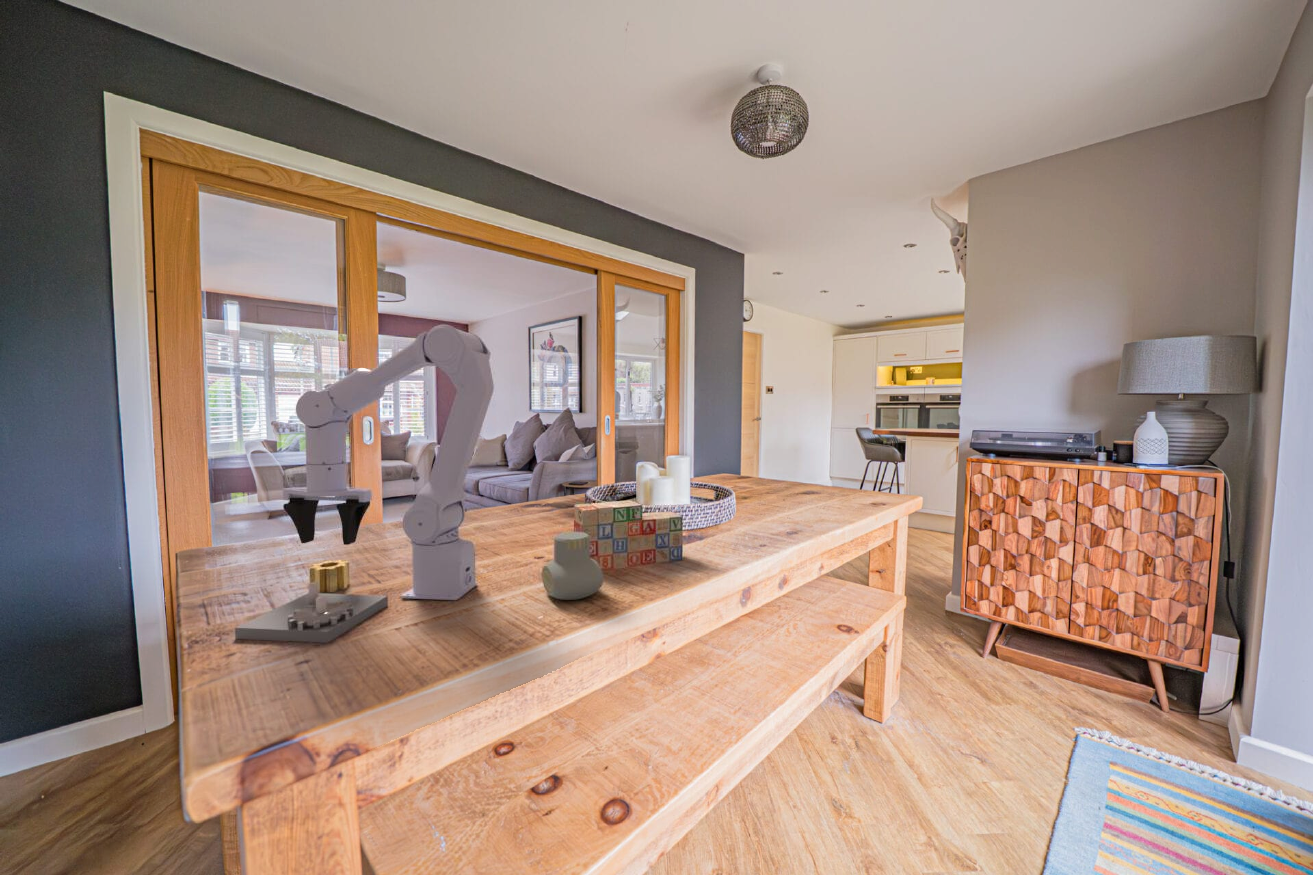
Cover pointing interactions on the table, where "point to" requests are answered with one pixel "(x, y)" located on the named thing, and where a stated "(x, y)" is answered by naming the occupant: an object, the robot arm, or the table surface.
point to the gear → (320, 616)
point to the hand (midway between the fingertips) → (328, 542)
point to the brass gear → (330, 575)
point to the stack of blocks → (629, 534)
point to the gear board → (277, 621)
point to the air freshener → (572, 568)
